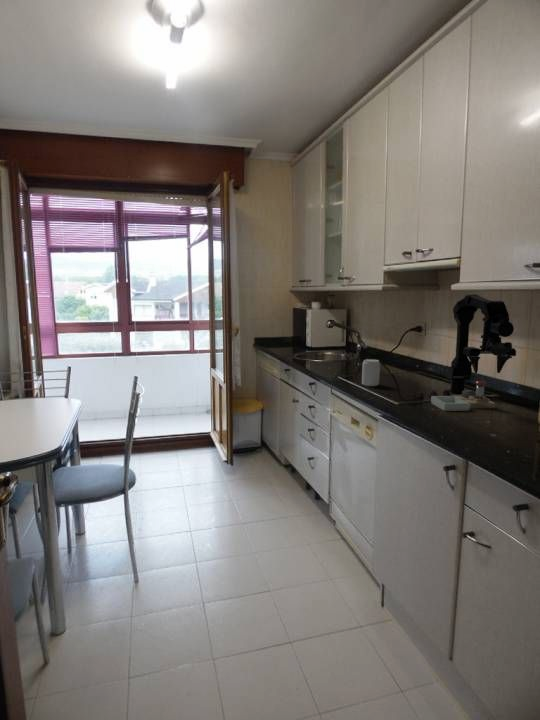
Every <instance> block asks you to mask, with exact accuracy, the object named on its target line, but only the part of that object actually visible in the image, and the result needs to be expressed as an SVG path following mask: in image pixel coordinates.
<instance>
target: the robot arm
mask: <svg viewBox="0 0 540 720" xmlns="http://www.w3.org/2000/svg"><path fill="white" fill-rule="evenodd" d="M479 310H480V313H481V314H482V315H483V316H484V317H482V319H481V320H482V321H484V322H483V330H482V334H481V335H480V338H481V339H482V340H481V341H482V342H481V345H479V348H478V347H475V346H469V338H470V337H469V335H470V324H471V323H472V321H473V320H474V317H475V314H476V312H477V311H479ZM452 314H453V319H454V321H455V323H456V324H457V325H456V326H457V327H456V328H457V329H456V341H455V343H456V346H455V357H454V358H453V359H452V361H451V364H450V366H449V369H448V370H447V372H446V378H447V379H449V380H450V389H448V388H447V389H446V390H447V391H448V392H450V393H451V394H453V395H458V394H462V391H465V387H466V386H465V385H466V382H465V381H466V380H467V381H468V380H470V379H471V375H472V373H473V371H474V374H478V370H479V361H480V359H481V356H480V355H482V354H483V355H485V354H488V355H489V354H490V355H494V356H496V373H497V374H500V373H501V372H502V370H503V368H504V365H505V364H506V362H507V361H508V360H510V359H513V357H516V356H517V350H516V349H515V348H514V347H513V343H512V342H509V341H508V342H507V341H506V342H502V338H508V337H511V335H512V334H513V333H514V329H515V327H514V325H513V323H512V322H510V313H509V312H508V309H507V306H506V304H505V302H504V301H503V300H490V299H487V298H485V297H482V296H480V295H478V294H467V295H465V296H464V298H461V299H460V300H459V301H457V302H456V304H455V305H454V306H453V308H452ZM457 393H458V394H457Z"/></svg>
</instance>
